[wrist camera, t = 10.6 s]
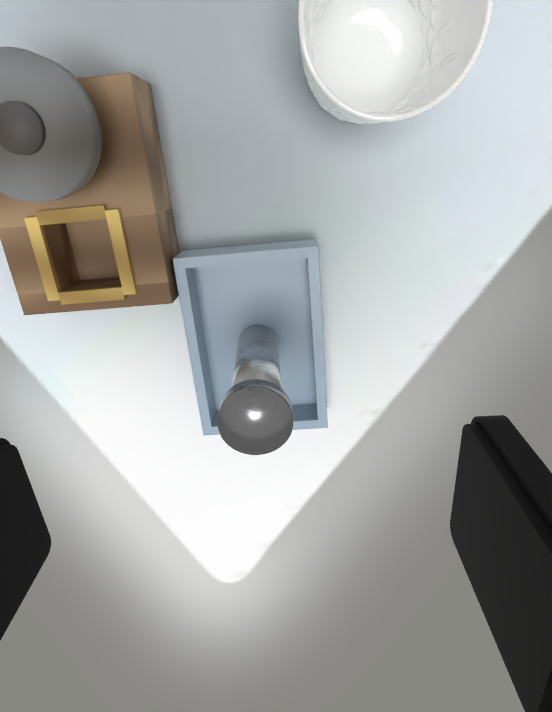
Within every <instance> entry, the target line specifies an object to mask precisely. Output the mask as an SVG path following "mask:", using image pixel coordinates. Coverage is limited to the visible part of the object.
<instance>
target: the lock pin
mask: <svg viewBox="0 0 552 712" xmlns="http://www.w3.org/2000/svg"><path fill="white" fill-rule="evenodd" d="M217 424H218V430H219V433H220V435H221V437H222V438H223V440H224V441H225V442H226V443H227V444H228V445H229V446H230V447H232V448H233V449H235V450H237V451H239V452H241V453H245V454H250V455H261V454H266V453H270V452H272V451H274V450H276V449H278V448H279V447H281V446H282V445H283V444H284V443H285V442H286V441H287V440H288V438H289V437H290V435H291V432H292V429H293V413H292V405H291V402H290V399H289V397H288V395H287V394H286V393H285V392H284V390H283V389H281V375H280V361H279V348H278V339H277V336H276V334H275V333H274V332H273V331H272V330H271V329H270V328H268V327H266V326H263V325H253V326H250V327H248V328H246V329H245V330H244V331H243V332H242V333H241V335H240V337H239V340H238V347H237V354H236V361H235V368H234V375H233V382H232V387H231V388H230V389H229V390H228V391H227V392H226V393H225V394H224V396H223V398H222V400H221V403H220V408H219V413H218V420H217Z"/></svg>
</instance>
